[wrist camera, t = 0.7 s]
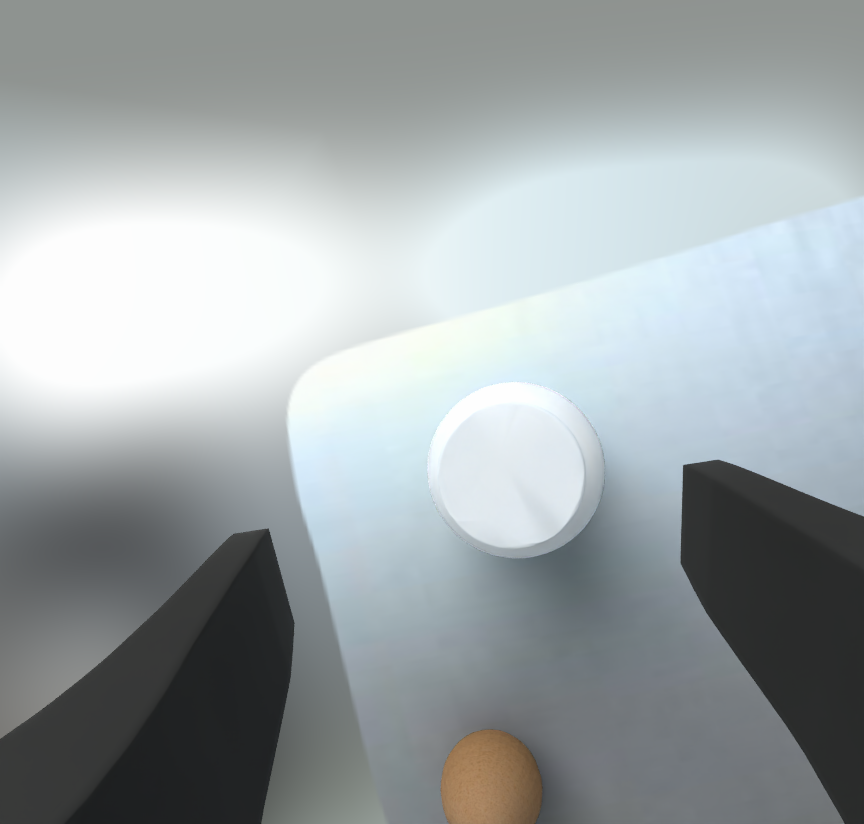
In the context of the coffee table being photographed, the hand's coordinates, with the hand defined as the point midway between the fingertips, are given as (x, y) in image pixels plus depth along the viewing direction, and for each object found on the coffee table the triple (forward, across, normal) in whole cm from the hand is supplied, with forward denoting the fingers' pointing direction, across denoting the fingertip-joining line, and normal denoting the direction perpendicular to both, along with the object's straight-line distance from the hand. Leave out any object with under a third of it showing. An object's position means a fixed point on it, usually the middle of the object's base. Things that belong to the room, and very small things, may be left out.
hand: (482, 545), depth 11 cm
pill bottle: (+18, -4, +9) cm, 21 cm away
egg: (+13, 0, +21) cm, 25 cm away
